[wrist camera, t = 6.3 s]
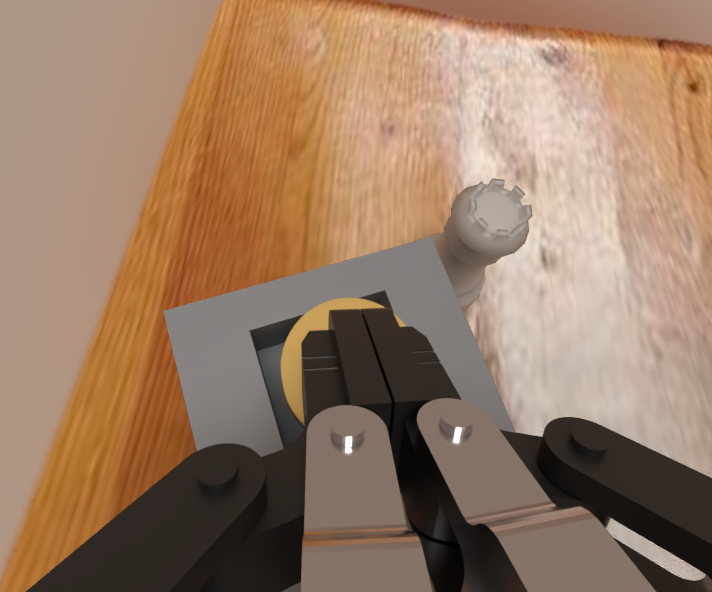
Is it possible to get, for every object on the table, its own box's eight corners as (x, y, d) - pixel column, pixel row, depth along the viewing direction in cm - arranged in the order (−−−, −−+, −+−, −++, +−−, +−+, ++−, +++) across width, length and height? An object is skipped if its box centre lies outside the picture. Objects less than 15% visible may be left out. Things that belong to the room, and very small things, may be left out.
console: (392, 295, 24) (431, 237, 17) (541, 675, 19) (673, 798, 12) (203, 352, 21) (163, 310, 15) (318, 800, 17) (335, 1032, 10)
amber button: (372, 314, 17) (392, 282, 13) (411, 417, 16) (442, 409, 12) (269, 346, 16) (263, 320, 13) (302, 457, 15) (305, 460, 12)
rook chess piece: (381, 266, 24) (421, 184, 17) (445, 231, 25) (510, 140, 18) (426, 335, 23) (490, 282, 16) (491, 295, 24) (579, 229, 17)
